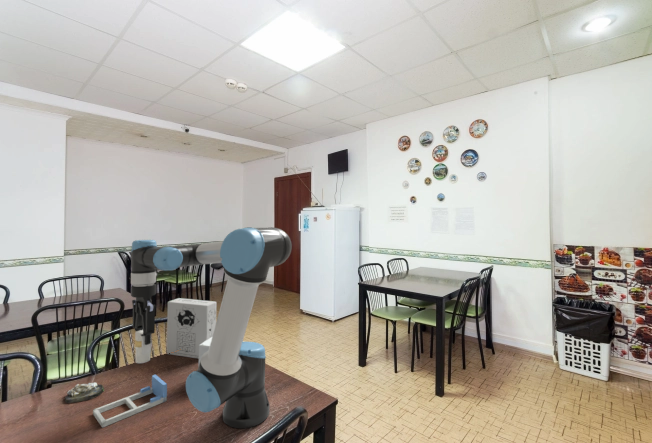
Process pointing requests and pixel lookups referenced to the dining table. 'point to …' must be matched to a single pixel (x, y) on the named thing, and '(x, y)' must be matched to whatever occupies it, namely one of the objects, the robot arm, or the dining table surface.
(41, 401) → the dining table surface
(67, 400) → the grey lumpy oval piece
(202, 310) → the cereal box
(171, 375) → the dining table surface
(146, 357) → the white cylinder
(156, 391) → the grey slotted tray
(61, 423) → the dining table surface
